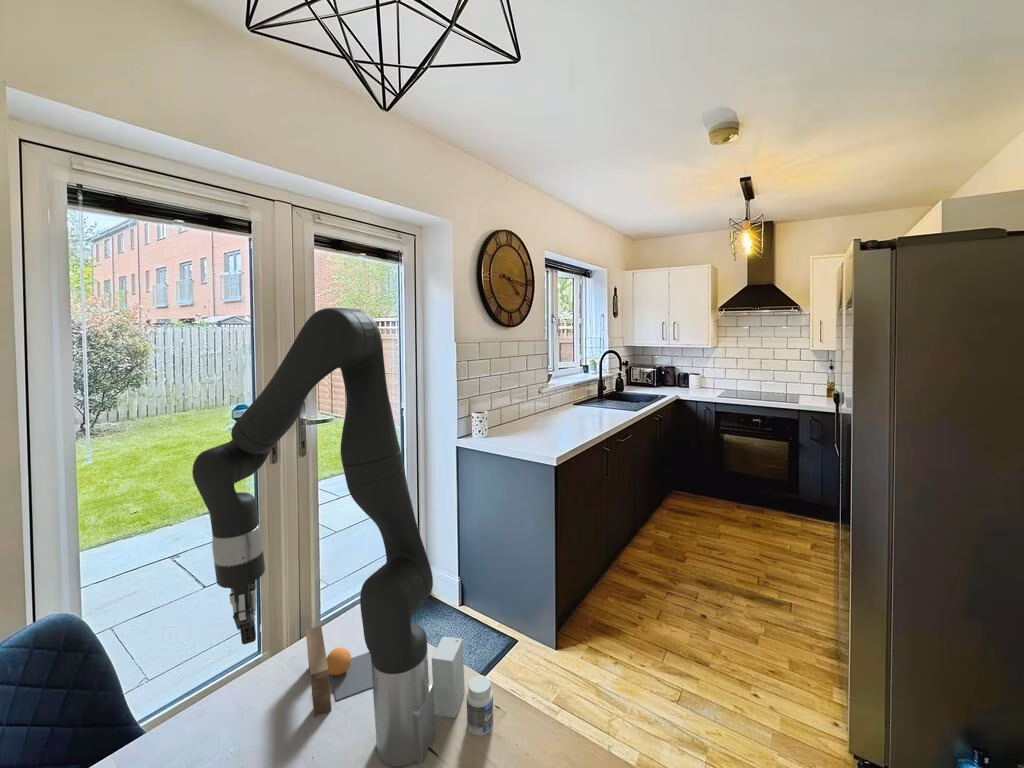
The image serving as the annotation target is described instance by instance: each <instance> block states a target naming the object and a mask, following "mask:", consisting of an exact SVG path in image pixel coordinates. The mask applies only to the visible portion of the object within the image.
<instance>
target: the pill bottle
mask: <svg viewBox="0 0 1024 768" xmlns="http://www.w3.org/2000/svg"><path fill="white" fill-rule="evenodd" d="M493 694H494V693H493V690H492V685H491V680H490V678H488V677H487V676H485V675H476V676H473V677H472V678H471V679H470V680H469V682H468V691H467V692H466V725H467V729H468V731H469V732H470V733H471V734H473V735H475V736H485V735H486V734H488V733H490V732H491V730H492V728H493V726H494V695H493Z"/></svg>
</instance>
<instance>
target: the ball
mask: <svg viewBox="0 0 1024 768" xmlns="http://www.w3.org/2000/svg"><path fill="white" fill-rule="evenodd" d="M351 658H352V655H351V653H350V651H349V649H347V648H346V647H342V646H340V647H335V648H334V649H332V650H331V651H330V652H329V654H327V655H326V659H327V665H328V673H329V675H331V676H332V675H335V676H337V675H341V674H343V673H344V672H346V671H347V669H348V668H349V666H350V664H351Z"/></svg>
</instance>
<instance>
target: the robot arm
mask: <svg viewBox="0 0 1024 768" xmlns="http://www.w3.org/2000/svg"><path fill="white" fill-rule="evenodd" d="M336 369H340V372H341V375H342V380H343V383H344V388H345V389H344V390H345V396H346V406H345V407H346V408H345V415H344V420H343V421H344V422H343V427H342V430H341V431H342V432H341V440H340V458H341V459H340V460H341V464H342V468H343V473H344V477H345V483H346V486H347V490H348V492H349V495H350V496H351V498H352V499H353V502H355V503H356V505H357V506H358V507H359V508H360V509H361V510H362V511H363V512H364V513H365V514H366V516H368V517H369V518H370V519H371V520H372V521H373V523H374V524H375V525H376V526H377V528H378V530H379V532H380V535H381V538H382V542H383V545H384V550H385V557H386V562H385V563H384V564H383V565H382V566H380V568H378V569H377V570H376V571H375V572H373V573H372V574H371V575H369V576H368V578H367V579H365V581H364V582H363V584H362V587H361V589H360V595H359V602H360V604H359V605H360V613H361V614H360V615H361V622H362V629H363V638H364V642H365V646H366V648H367V651H368V652H370V654H371V665H372V681H373V688H372V694H373V696H372V697H373V709H374V725H375V727H374V728H375V740H376V753H377V754H378V755H377V756H378V757H379V759H380V760H381V761H382V762H383V763H385V764H386V765H389V766H390V767H392V766H393V767H404V766H409V765H411V764H413V763H419V764H420V763H423V761H424V759H425V757H426V754H427V752H428V750H429V747H430V745H431V743H432V740H433V738H434V735H435V734H436V715H435V708H434V686H433V683H430V680H429V660H428V659H429V656H428V653H429V652H428V636H427V632H426V631H425V629H424V628H423V627H422V626H421V625H419V624H417V623H416V622H412V617H413V616H414V615H415V613H416V612H417V611H418V610H419V609H420V608H421V607H422V606H423V605H424V604H425V603H426V601H427V600H428V599H429V597H430V595H431V593H432V591H433V586H434V580H433V579H434V578H433V572H432V568H431V564H430V561H429V558H428V555H427V552H426V549H425V545H424V543H423V540H422V538H421V537H422V536H421V533H420V530H419V527H418V524H417V520H416V516H415V513H414V512H415V511H414V506H413V503H412V498H411V496H410V495H411V494H410V490H409V487H408V481H407V476H406V475H407V474H406V470H405V463H404V460H403V456H402V455H403V454H402V450H401V445H400V443H399V439H398V435H397V431H396V424H395V419H394V415H393V411H392V410H393V409H392V406H391V402H390V396H389V392H388V386H387V377H386V366H385V358H384V347H383V340H382V335H381V331H380V329H379V326H378V323H377V322H376V320H375V319H374V317H372V316H371V315H370V314H369V313H368V312H366V311H364V310H361V309H357V308H348V307H347V308H344V307H327V308H322V309H319V310H317V311H316V312H313V314H312V315H311V316H310V317H309V318H308V319H307V321H305V323H304V325H303V326H302V328H301V329H300V331H299V332H298V334H297V336H296V338H294V341H293V342H292V344H291V346H290V348H289V350H288V351H287V353H286V355H285V356H284V358H283V360H281V363H280V365H279V367H278V368H277V370H276V371H275V372H274V374H273V376H272V378H271V379H270V380H269V381H268V383H267V384H266V386H265V387H264V389H263V390H262V391H261V393H260V394H259V395H258V396H257V397H256V398H255V399H254V401H253V402H252V403H251V404H250V405H249V406H248V407H247V408H246V409H245V410H244V412H243V413H242V414H241V416H239V418H238V419H237V420H236V421H235V423H234V424H233V426H232V428H231V433H230V434H231V439H230V441H227V442H225V443H222V444H220V445H218V446H214V447H211V448H209V449H205V450H203V451H202V452H200V453H199V454H198V455H197V456H196V458H195V460H194V461H193V464H192V479H193V481H194V484H195V486H196V488H197V490H198V492H199V494H200V496H201V498H202V500H203V502H204V505H205V506H206V508H207V510H208V513H209V516H210V517H209V518H210V525H211V533H212V541H211V542H212V543H211V546H212V547H211V548H212V556H213V562H214V563H213V564H214V573H215V580H216V584H217V585H218V587H221V588H224V589H230V593H229V603H230V604H231V606H232V612H233V614H232V619H233V620H234V623H235V625H236V629H237V631H240V637H241V638H240V639H241V644H242V645H246V644H247V645H248V644H250V643H253V642H256V639H257V631H256V623H255V621H256V617H255V616H256V611H257V581H258V580H259V579H260V578H261V577H262V576H263V575H264V573H265V571H266V564H265V556H264V555H265V554H264V548H263V547H264V546H263V539H262V537H263V536H262V532H261V528H260V525H259V516H258V508H257V507H258V506H257V501H256V499H255V496H254V495H253V494H251V493H249V492H245V491H243V492H237V491H236V489H235V484H236V483H238V482H241V481H242V480H245V479H247V478H249V477H250V476H252V475H254V474H255V473H256V472H257V471H258V470H259V469H260V468H261V467H262V466H263V465H264V464H265V462H266V461H267V458H268V457H269V456H270V453H271V452H272V449H273V447H274V446H275V445H276V444H277V443H278V442H279V441H280V439H282V437H283V436H284V435H285V434H286V433H287V432H288V431H289V430H290V429H291V428H292V427H293V425H294V424H295V423H296V421H297V420H298V418H299V415H300V414H301V412H302V408H303V406H304V403H305V401H306V399H307V397H308V395H309V394H310V392H311V391H312V390H313V389H314V388H315V386H317V384H319V383H320V381H322V380H323V379H325V378H326V377H327V376H329V375H330V374H331V373H332V372H334V371H335V370H336Z"/></svg>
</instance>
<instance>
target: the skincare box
mask: <svg viewBox="0 0 1024 768" xmlns="http://www.w3.org/2000/svg"><path fill="white" fill-rule="evenodd" d="M463 640H464V639H463V638H457V637H453V636H452V637H451V636H442V637H441V638H440V641H439V643H438V644H437V646H436V649H435V651H434V654H433V656H432V658H431V669H432V671H431V672H432V684H433V686H434V708H435V716H440V717H441V716H442V717H446V718H452V719H456V717H457V714H458V712H459V709H460V706H461V703H462V701H463V699H464V695H465V693H466V692H465V691H466V690H465V688H466V687H465V668H464V666H465V664H464V663H465V662H464V642H463Z"/></svg>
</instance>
